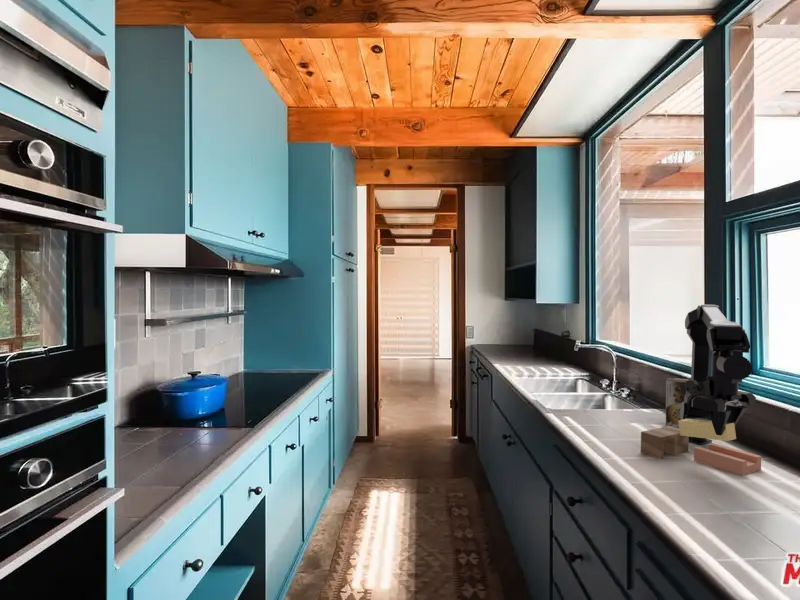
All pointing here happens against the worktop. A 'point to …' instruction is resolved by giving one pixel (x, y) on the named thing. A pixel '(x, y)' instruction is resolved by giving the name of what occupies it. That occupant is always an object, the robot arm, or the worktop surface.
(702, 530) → the worktop surface
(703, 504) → the worktop surface
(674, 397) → the product box
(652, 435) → the walnut beam
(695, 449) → the rust cradle
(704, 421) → the brass block
